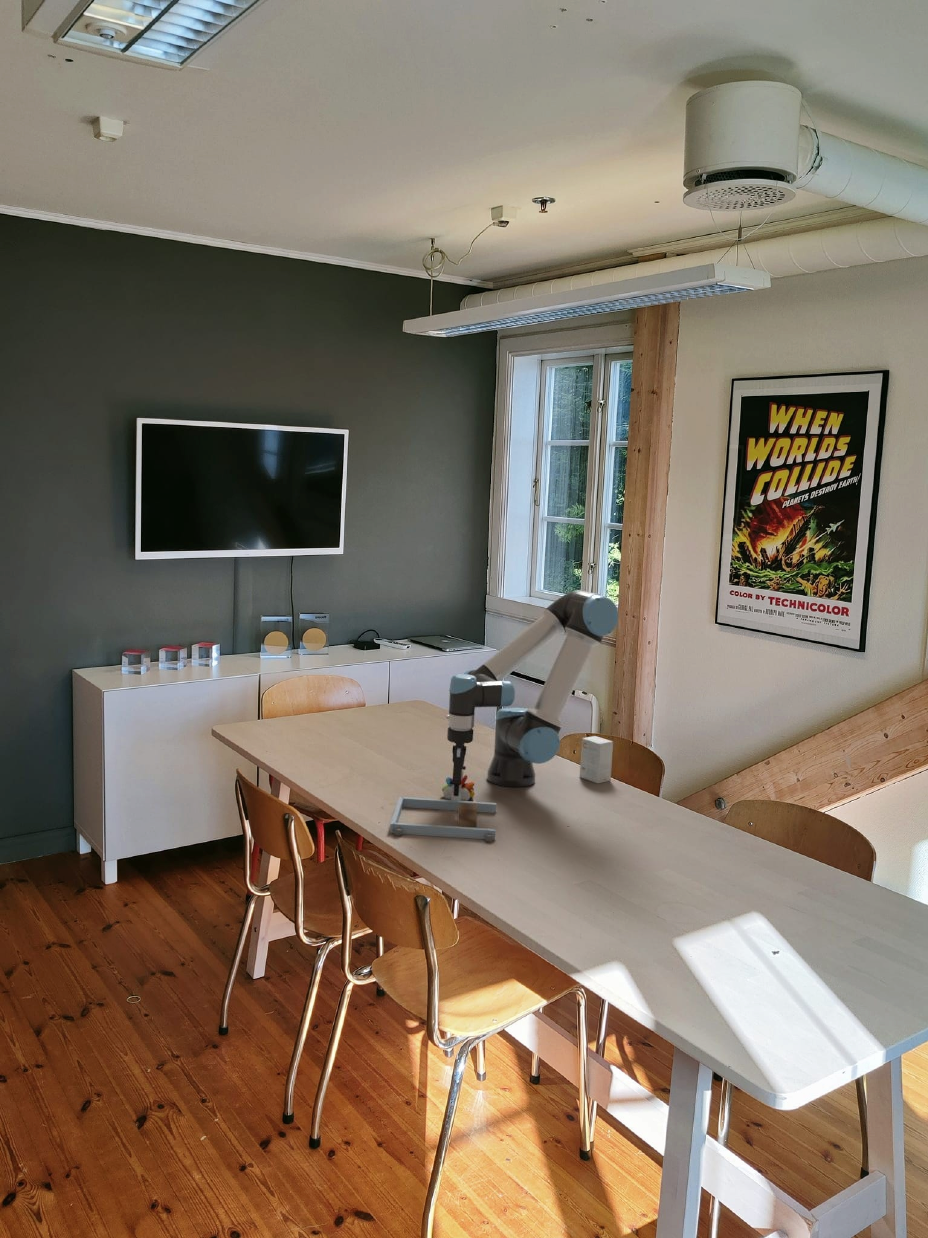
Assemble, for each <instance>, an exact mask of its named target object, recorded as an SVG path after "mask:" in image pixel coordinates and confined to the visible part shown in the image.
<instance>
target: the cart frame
mask: <svg viewBox="0 0 928 1238" xmlns="http://www.w3.org/2000/svg"><path fill="white" fill-rule="evenodd" d="M459 803H469V804H478V806H477V813H490V814H497V813H496V812H497V803H496V802H483V801H469V800H467V801H455V800H448V799H439V798H438V799H436V798H420V797H407V796H405V797H404V796H399V797H398V800H397V802H396V806H395V808H394V812H393V815H392V817H391V821H390V824H389V825H390V826H389V833H390V834H393V836H394V837H402V835H416V836H431V837H447V838H461V839H475V840H484V842H486V843H489V844H490V843H493V841H496V832H497V831H496V829H494V828H485V827H483V828H481V827H462V826H451V825H435V824H421V823H420V824H419V823H406V822H399V820H400V817H401V814H402V809H404V808H412V809H413V808H414V809H430V810H442V811H443V810H446V811H458V812H459Z"/></svg>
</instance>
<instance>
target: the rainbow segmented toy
mask: <svg viewBox="0 0 928 1238" xmlns="http://www.w3.org/2000/svg"><path fill="white" fill-rule="evenodd" d="M452 780H453V777H449V776H448V777H446V778H445V783H446V785H443V787H442V788H441V789H442V793H443V797H444V799H445V800H451V793H452V784H450V782H452ZM455 780H456V779H455ZM467 780H468V775H466V774H464V775H463V779H462V780H461V801H469V800H470V798H472V797H474V796H475V788H474V786H475V783H474V781H469V782H466V781H467Z"/></svg>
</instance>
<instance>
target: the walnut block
mask: <svg viewBox="0 0 928 1238" xmlns="http://www.w3.org/2000/svg"><path fill="white" fill-rule="evenodd" d="M477 806H478V804H469V803H459V811H458V815H457V817H458V818H457V819H458V820H457V827H469V828H477V823H478V821H477V820H478V818H477V817H478V812H477Z"/></svg>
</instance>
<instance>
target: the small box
mask: <svg viewBox="0 0 928 1238" xmlns="http://www.w3.org/2000/svg"><path fill="white" fill-rule="evenodd" d="M581 740H582V741H581V752H580V762H579V763H580V764H579V765H580V766H579V778H582V779H584V780H587V781H590V782H593V783H595V784H601V783H606V782H608V781H611V778H612V765H613V764H612V762H613V749H614V741H613V740H610V739H605V738H603V737H599V736H596V735H592V736H588V737H582V739H581Z"/></svg>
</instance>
